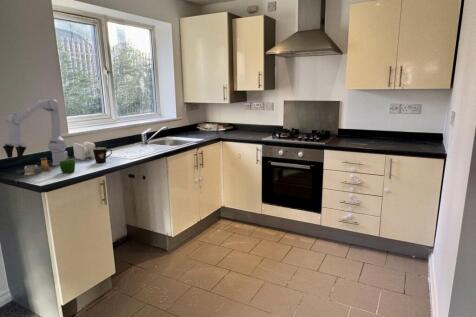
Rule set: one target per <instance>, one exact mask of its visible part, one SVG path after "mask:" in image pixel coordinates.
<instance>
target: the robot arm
mask: <svg viewBox="0 0 476 317" xmlns="http://www.w3.org/2000/svg"><path fill="white" fill-rule="evenodd" d="M59 106H60V102H59V101H57V100H56V99H53V98H50V99H47V98H41V99H40V100H37V102H35V103H34V104H32V105H31V106H30V107H22V108H20V110H18V111H14V112H13V114H9V115H7V116H6V118H5V121H6V123H7V127H8V141H3V146H2V148H3V149H4V151H5V154H6V156H7V158H8V159H11V158H13V151H14V148H15V149H16V150H15V151H16V155H17V159H18V160H20V159H21V160H22V158H23V156H24V153H25V151H26V149H27V143H25V142H21V125H22V124H23V123H24V121H25V120H27V119H29V118H30V117H31V116H32V114H33V113H35V112H37V111H39V110H41V109H42V110H45V111H47V112H49V114H50V122H51V123H50V124H51V127H50V128H51V138H50V139H49V142H48V144H47V145H48V146H47V147H48V149H49V150H50V152H51V154H52V156H51V158H52V166H60V161H65V160H66V159H67V157H69V156H68V155H69V154H68V151H67V150H66V148H67V145H66V142H65V139H64V138H63V137H62V123H61V122H62V121H61V108H60V107H59ZM68 160H70V158H68Z"/></svg>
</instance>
